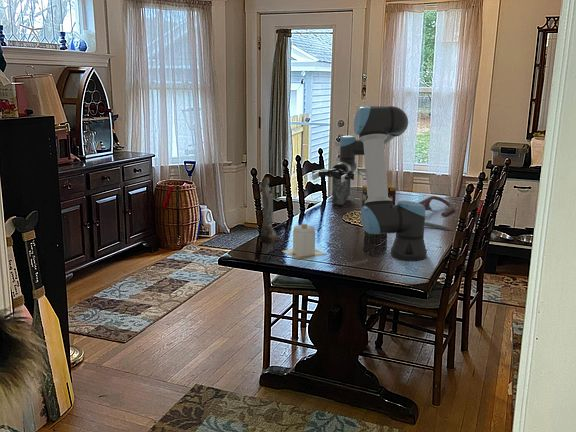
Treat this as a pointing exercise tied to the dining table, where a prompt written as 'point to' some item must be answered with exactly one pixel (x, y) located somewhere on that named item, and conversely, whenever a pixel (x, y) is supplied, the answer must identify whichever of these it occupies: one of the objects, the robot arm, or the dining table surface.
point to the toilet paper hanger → (428, 200)
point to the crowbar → (437, 226)
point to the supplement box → (392, 194)
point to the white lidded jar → (304, 240)
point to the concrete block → (340, 191)
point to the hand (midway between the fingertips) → (327, 178)
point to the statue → (267, 214)
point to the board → (290, 252)
